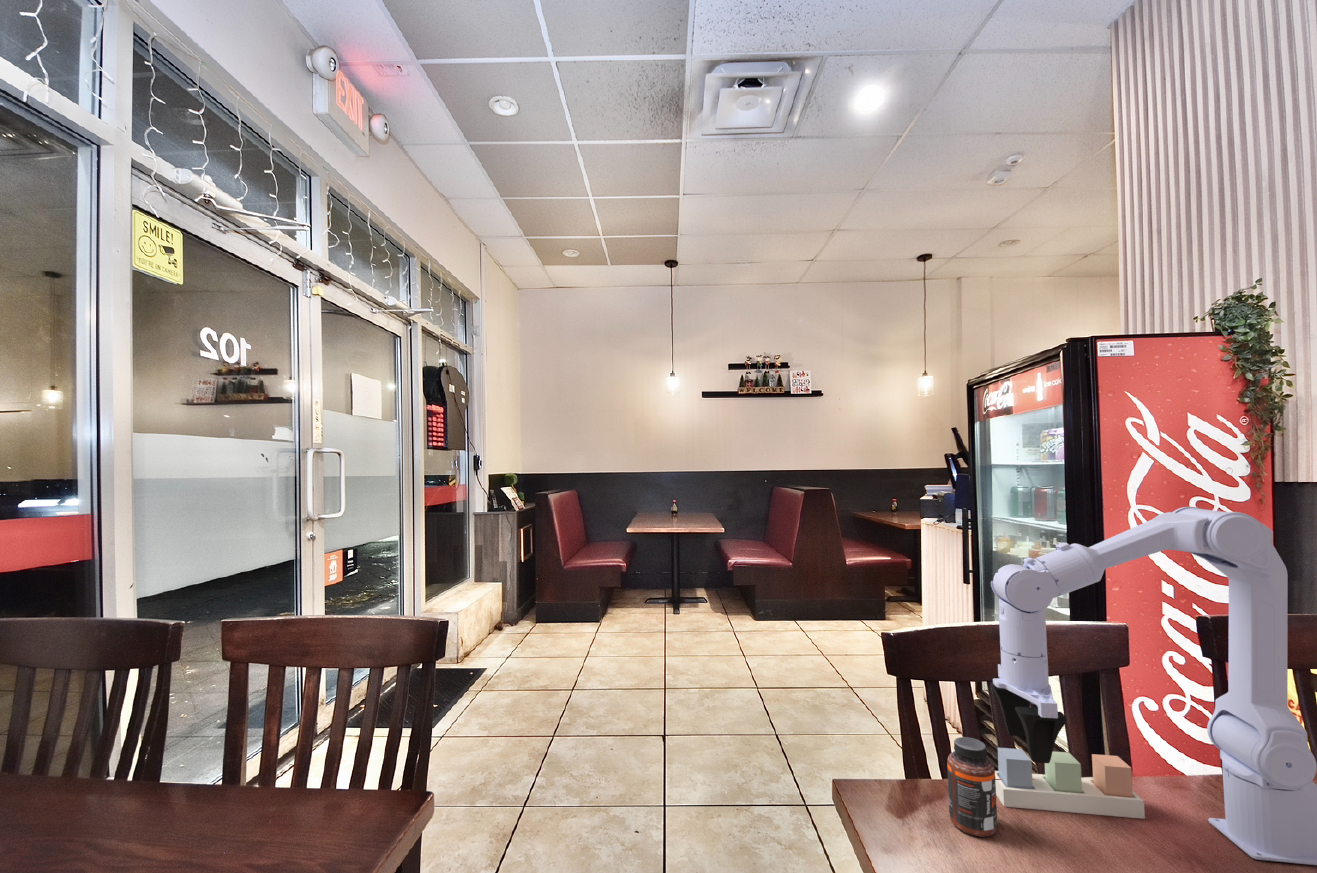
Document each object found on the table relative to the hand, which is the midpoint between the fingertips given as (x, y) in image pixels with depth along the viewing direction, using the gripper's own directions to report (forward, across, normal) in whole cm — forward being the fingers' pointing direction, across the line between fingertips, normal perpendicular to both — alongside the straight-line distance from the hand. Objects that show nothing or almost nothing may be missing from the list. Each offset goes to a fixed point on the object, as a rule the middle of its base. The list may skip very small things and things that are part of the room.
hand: (1027, 747), depth 82 cm
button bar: (+10, -6, +7) cm, 13 cm away
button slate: (+8, -6, 0) cm, 10 cm away
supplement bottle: (+10, +2, -8) cm, 14 cm away
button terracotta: (+8, -6, +13) cm, 16 cm away
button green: (+8, -6, +7) cm, 12 cm away
